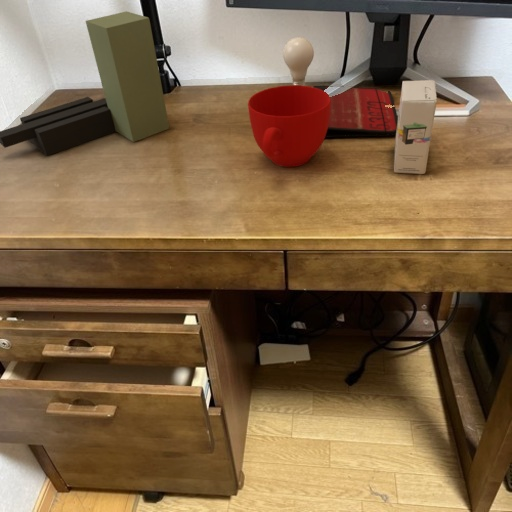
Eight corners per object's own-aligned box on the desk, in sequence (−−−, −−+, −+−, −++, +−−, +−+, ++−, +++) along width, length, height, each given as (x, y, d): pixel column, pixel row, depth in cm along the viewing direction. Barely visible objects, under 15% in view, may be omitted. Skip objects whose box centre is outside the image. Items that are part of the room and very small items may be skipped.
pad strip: (-1, 143, 90) (-5, 132, 89) (117, 104, 101) (115, 94, 100) (4, 148, 88) (0, 137, 87) (124, 107, 99) (122, 98, 98)
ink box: (393, 148, 84) (401, 78, 76) (424, 149, 83) (435, 79, 75) (392, 173, 77) (401, 99, 70) (425, 174, 76) (438, 100, 69)
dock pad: (27, 139, 96) (19, 117, 93) (93, 117, 103) (87, 96, 100) (47, 156, 90) (38, 133, 87) (116, 131, 97) (110, 109, 94)
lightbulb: (318, 88, 108) (319, 34, 101) (304, 98, 104) (304, 43, 97) (293, 84, 110) (292, 32, 104) (278, 94, 106) (276, 40, 100)
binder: (309, 126, 87) (312, 84, 103) (309, 138, 88) (311, 95, 105) (402, 128, 85) (390, 85, 102) (400, 141, 87) (388, 96, 103)
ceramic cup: (230, 183, 78) (224, 123, 72) (268, 137, 90) (265, 82, 84) (309, 194, 74) (309, 132, 68) (337, 144, 86) (339, 88, 80)
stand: (113, 130, 97) (85, 20, 85) (148, 117, 101) (126, 11, 89) (133, 142, 92) (106, 28, 80) (169, 128, 96) (149, 17, 84)
